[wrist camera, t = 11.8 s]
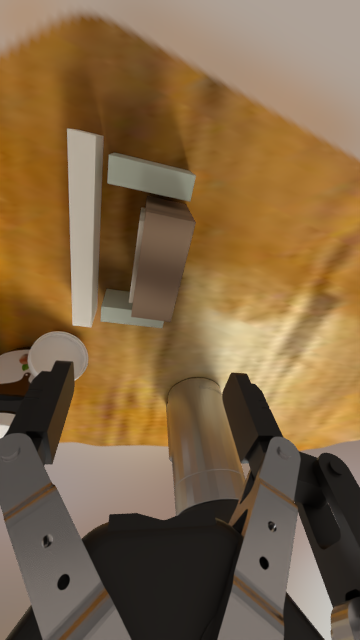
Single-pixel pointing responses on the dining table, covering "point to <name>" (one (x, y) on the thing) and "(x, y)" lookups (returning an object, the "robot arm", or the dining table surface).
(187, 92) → the dining table surface
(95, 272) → the ledge
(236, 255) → the dining table surface
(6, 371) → the spread jar
